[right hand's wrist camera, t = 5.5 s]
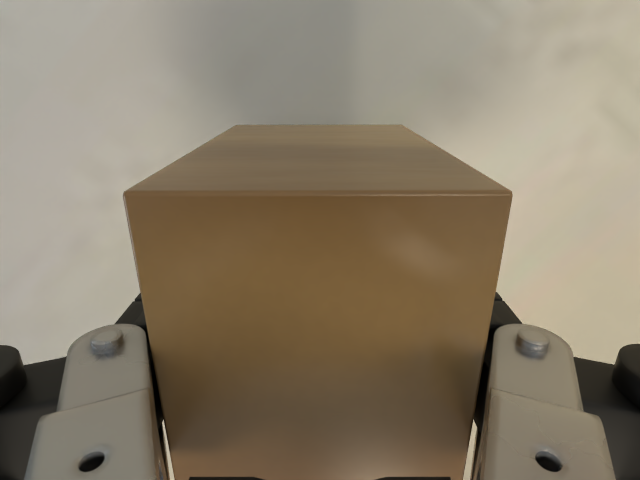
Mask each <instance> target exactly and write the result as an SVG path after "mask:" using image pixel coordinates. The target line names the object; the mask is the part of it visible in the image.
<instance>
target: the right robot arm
mask: <svg viewBox="0 0 640 480" xmlns="http://www.w3.org/2000/svg"><path fill="white" fill-rule="evenodd" d="M163 419H164V418H163V412H162V407H161V401H160V396H159V390H158V385H157V379H156V374H155V369H154V363H153V358H152V352H151V347H150V341H149V336H148V330H147V325H146V319H145V314H144V308H143V303H142V297H141V293H140V294H139V295H138V296H137V297H136V299H135V302H132V304H131V305H130V306H129V307H128V308H127V310H126V311H125V312H124V313H123V314H122V316H121V317H120V318H119V319H118V321H117V322H116V323H115V324H114V325H108V326H104V327H101V328H97V329H95V330H92V331H90V332H88V333H86V334H84V335H83V336H81V337H80V338H78V339H77V340H76V341H75V342H74V343H73V344H72V345H71V346H70V348H69V350H68V353H67V357H63V358H59V359H54V360H49V361H44V362H39V363H33V364H28V365H23V363H22V360H21V356H20V353H19V351H18V350H17V349H16V348H14V347H11V346H7V345H0V480H170V477H169V469H168V460H167V452H166V444H165V437H164V431H163V426H162V421H163ZM473 419H474V421H475V423H476V426H477V431H476V437H475V444H474V452H473V460H472V469H471V477H470V480H640V344H631V345H626V346H624V347H622V348H621V349H620V351H619V353H618V356H617V359H616V362H615V365H613V364H607V363H602V362H597V361H592V360H586V359H581V358H577V357H573V353H572V350H571V348H570V346H569V345H568V344H567V343H566V342H565V341H564V340H563V339H562V338H560V337H559V336H557V335H556V334H554V333H552V332H550V331H548V330H545V329H543V328H539V327H536V326H532V325H526V324H522V323H521V321H520V320H519V319H518V318H517V316H516V315H515V314H514V313H513V311H512V310H511V309H510V308H509V307H508V305H507V304H506V303H505V302H504V301H502V298H501V297H500V295H499V294H498V293H497V292H495V298H494V304H493V310H492V315H491V321H490V327H489V332H488V338H487V344H486V349H485V355H484V361H483V367H482V372H481V378H480V384H479V389H478V395H477V401H476V406H475V412H474V418H473ZM189 480H264V479H260V478H257V477H189ZM376 480H451V477H383V478H380V479H376Z"/></svg>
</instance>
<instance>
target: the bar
mask: <svg viewBox="0 0 640 480" xmlns="http://www.w3.org/2000/svg"><path fill="white" fill-rule="evenodd" d="M123 199H124V205H125V210H126V215H127V221H128V226H129V232H130V237H131V243H132V248H133V254H134V259H135V265H136V270H137V276H138V281H139V287H140V292H141V297H142V303H143V308H144V314H145V319H146V325H147V330H148V336H149V341H150V347H151V352H152V358H153V363H154V369H155V374H156V379H157V385H158V390H159V396H160V401H161V407H162V412H163V418H164V423H165V429H166V434H167V440H168V445H169V451H170V456H171V461H172V467H173V472H174V478H175V480H189V477H257V478H260V479H264V480H376V479H380V478H383V477H451V480H463V475H464V469H465V463H466V458H467V452H468V446H469V441H470V435H471V429H472V424H473V418H474V412H475V406H476V401H477V395H478V389H479V384H480V378H481V372H482V367H483V361H484V355H485V349H486V344H487V338H488V332H489V327H490V321H491V315H492V310H493V304H494V298H495V292H496V287H497V281H498V275H499V270H500V264H501V258H502V253H503V247H504V241H505V235H506V230H507V224H508V218H509V213H510V207H511V201H512V191H510V190H509V189H507V188H505V187H504V186H502V185H501V184H499V183H497V182H496V181H494V180H492V179H491V178H489V177H487V176H486V175H484V174H482V173H481V172H479V171H477V170H476V169H474V168H472V167H471V166H469V165H467V164H466V163H464V162H463V161H461V160H459V159H458V158H456V157H454V156H453V155H451V154H449V153H448V152H446V151H444V150H443V149H441V148H439V147H438V146H436V145H434V144H433V143H431V142H429V141H428V140H426V139H424V138H423V137H421V136H420V135H418V134H416V133H415V132H413V131H411V130H410V129H408V128H406V127H405V126H403V125H235V126H234V127H232V128H230V129H229V130H227V131H225V132H224V133H222V134H220V135H218V136H217V137H215V138H213V139H212V140H210V141H208V142H207V143H205V144H203V145H202V146H200V147H198V148H197V149H195V150H193V151H192V152H190V153H188V154H187V155H185V156H183V157H182V158H180V159H178V160H176V161H175V162H173V163H171V164H170V165H168V166H166V167H165V168H163V169H161V170H160V171H158V172H156V173H155V174H153V175H151V176H150V177H148V178H146V179H145V180H143V181H141V182H140V183H138V184H136V185H135V186H133V187H131V188H129V189H128V190H126V191H124V193H123Z"/></svg>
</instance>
